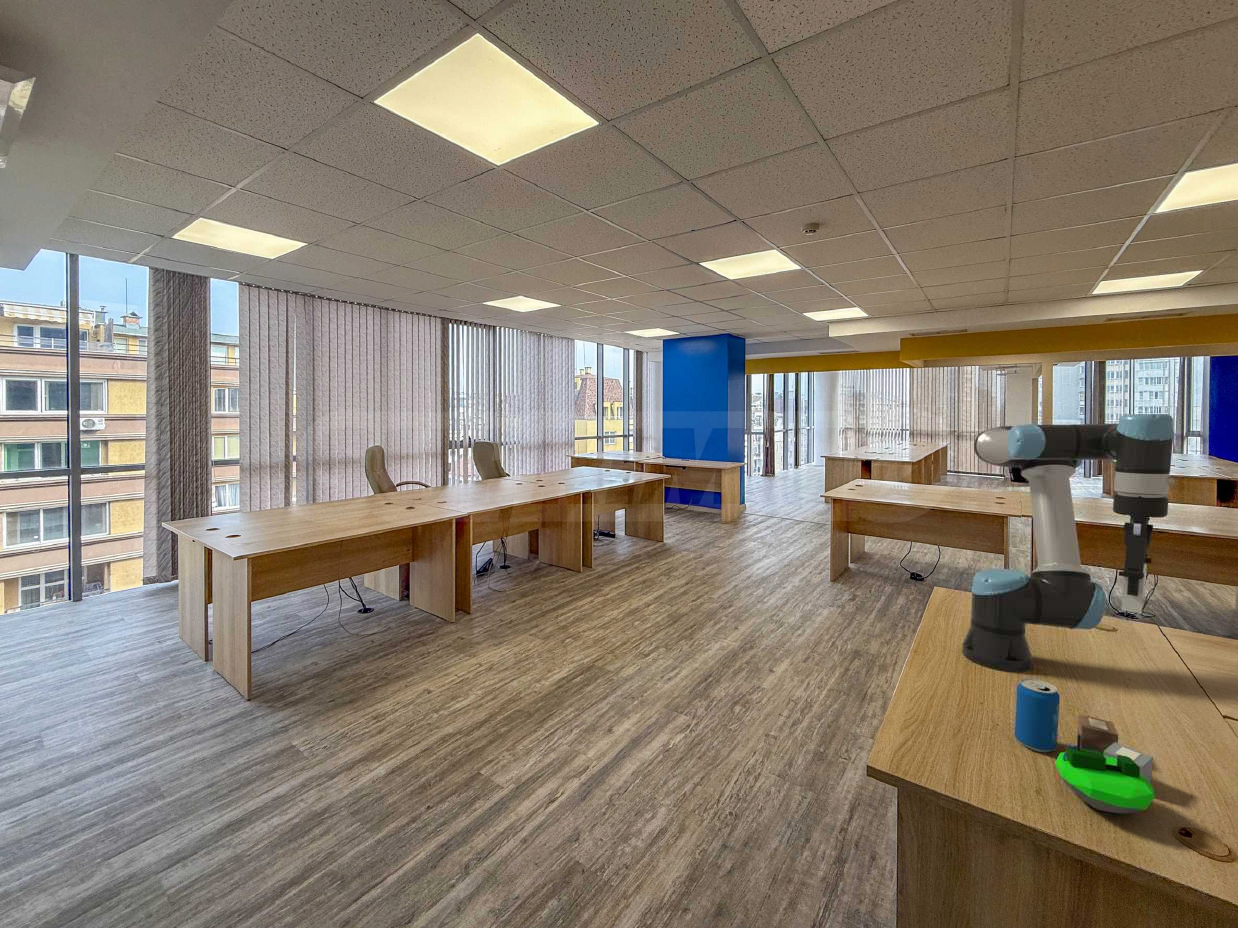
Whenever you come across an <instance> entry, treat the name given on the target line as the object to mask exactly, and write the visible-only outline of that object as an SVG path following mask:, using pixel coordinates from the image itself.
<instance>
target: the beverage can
mask: <svg viewBox="0 0 1238 928" xmlns="http://www.w3.org/2000/svg"><path fill="white" fill-rule="evenodd" d="M1015 699H1016V700H1015V701H1016V702H1015V703H1016V704H1015V721H1014V724H1015V725H1014V737H1015V739H1016V740H1017V741H1018V742H1019V743H1020V744H1021V745H1022V746H1023V747H1026V749H1029V750H1032V751H1035V752H1039V753H1049V752H1052V751H1055V750H1056V749H1058V734H1059V733H1058V732H1059V719H1060V718H1059V716H1060V715H1059V713H1060V700H1061V698H1060V694H1059V693H1058V688H1057V687H1056V686H1055V685H1053V684H1052V683H1050V682H1047V681H1045V680H1042V679H1037V678H1031V677H1030V678H1029V677H1025V678H1021V679H1020V681H1019V683H1018V684H1017V685H1016V698H1015Z"/></svg>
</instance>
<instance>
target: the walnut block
mask: <svg viewBox="0 0 1238 928" xmlns="http://www.w3.org/2000/svg"><path fill="white" fill-rule="evenodd" d="M1077 720H1078V723H1077V737H1076V740H1077V739H1078V735H1081V740H1080V748H1082V749H1088V750H1095V751H1100V752H1101V753H1102V754H1103V755H1104V750H1106V749H1107V748H1108V747H1109V746H1110V745H1112V744H1113V743H1114V742H1116V743H1119V733H1118V731H1117V728H1116V726H1115V724H1114V722H1113V721H1110V720H1109V721H1108V720H1105V719H1102V718H1097V717H1092V716H1087V715H1083V714H1078V719H1077Z"/></svg>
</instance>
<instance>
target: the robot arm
mask: <svg viewBox="0 0 1238 928" xmlns="http://www.w3.org/2000/svg"><path fill="white" fill-rule="evenodd" d="M1174 437H1175V431H1174V418H1173V417H1172V415H1170V414H1167V413H1151V414H1150V413H1144V414H1143V413H1141V414H1137V413H1136V414H1134V413H1133V414H1123V415H1121V416H1120V417H1119V418H1118V423H1099V424H1098V423H1092V424H1090V423H1089V424H1088V423H1086V424H1085V423H1084V424H1082V423H1079V424H1077V423H1076V424H1074V423H1073V424H1035V423H1033V424H1032V423H1026V424H1019V425H1018V424H1016V425H1003V426H997V427H991V428H989V429H985V430H984V431H982V432H981V433H979V434H978V435H977V436H976V437H975V439H974V442H973V450H974V454H976V457H977V458H979V460H981V461H983V462H984V463H986V464H989V465H993V466H995V467H996V466H997V467H1003V468H1020V474H1021V476H1022V477H1023V478H1025V479H1026V480H1027V481H1028V483H1029V484H1028V485H1029V486H1028V487H1029V493H1030V502H1031V510H1032V511H1031V512H1032V513H1031V514H1032V519H1033V520H1032V523H1033V530H1034V540H1035V547H1036V550H1035V551H1036V559H1037V567H1036V568H1035V569H1034V570H1032V571H1031V577H1029V576H1028V573H1026V572H1024V571H1021V570H1018V569H1010V568H992V569H991V568H989V569H984V570H981V571H979V572H977V573H976V574H974V576H973V580H972V585H971V586H972V587H971V589H970V590H971V612H970V614H971V615H970V616H971V617H970V627H969V628H968V631H967V633H966V635H965V637H964V639H963V641H962V645H961V653H962V655H963V656H964V657H965V658H966V659H968V660H970V661H971V662H973V663H976V664H978V665H980V666H982V667H986V668H990V669H994V670H998V671H1004V672H1005V671H1007V672H1026V671H1029V670H1031V669H1032V667H1033V655H1032V651H1031V648H1030V645H1029V642H1028V639H1027V637H1026V627H1027V626H1026V625H1038V626H1045V627H1046V626H1047V627H1056V628H1066V629H1070V630H1077V629H1078V630H1092V629H1095V628H1096V627H1098V625H1100V623H1101V622H1102V619H1103V618H1104V615H1105V609H1106V593H1105V591H1104V590H1103V587H1102V585H1100V584H1099V583H1097V582H1095V581H1092V578H1091V573H1090V572H1088V571H1087V570H1086V569H1084V568H1083V567H1082V564H1081V562H1082V561H1081V555H1080V549H1079V541H1078V532H1077V526H1076V519H1075V511H1074V505H1073V497H1072V489H1071V488H1072V487H1071V481H1070V478H1071V477H1072V476H1073V475H1075V473H1076V472H1077V471H1076V470H1077V468H1079V467H1081V465H1082V464H1083V461H1085V460H1086V461H1087V460H1088V461H1090V460H1091V461H1115V467H1114V468H1115V470H1114V480H1113V491H1115V494H1114V495H1113V502H1112V511H1113V512H1114V513H1115V514H1117V515H1122V516H1128V517H1130V518H1129V519H1130V520H1129V522H1126V521H1125V522H1124V525H1123V533H1124V540H1123V541H1124V545H1125V546H1126V549H1125V551H1126V552H1125V558H1124V559H1125V560H1124V569H1123V571H1121V570H1118V576H1119V577H1122V579H1123V582H1122V593H1121V594H1122V597H1121V608H1120V609H1121V611H1124V612H1130V613H1136V614H1141V615H1142V613H1143V598H1144V597H1145V596H1146V595H1145V594H1146V583H1147V581H1146V580H1147V569H1148V568H1147V565H1148V564H1150V565H1151V564H1152V558H1151V557H1148V556H1149V554H1148V548H1150V545H1151V539H1152V538H1151V537H1152V536H1153V533H1154V524H1149V521H1150V518H1155V519H1156V518H1165V517H1167V516H1168V511H1169V499H1168V497H1166V495H1168V494H1169V492H1170V491H1169V490H1170V484H1175V479H1174V478H1169V477H1170V473H1171V465H1172V456H1173V455H1172V454H1173V445H1174V444H1173V443H1174Z"/></svg>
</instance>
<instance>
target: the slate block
mask: <svg viewBox="0 0 1238 928" xmlns="http://www.w3.org/2000/svg"><path fill="white" fill-rule="evenodd" d="M1117 755H1122V756H1127V757H1129V758H1131V759H1132V760H1133V761H1134V762H1135V763H1136V764H1137V765H1138V766H1139V767H1140V774H1141V775H1142V776H1143V777H1144V778H1145V779H1146V780H1147V781H1148V782H1149V783H1150V784H1151V785H1152V774H1153V763H1154V762H1153V759H1154V756H1151V755H1149V754H1147V753H1144V752H1142V751H1139V750H1137V749H1134V748H1132V747H1128V746H1126V745H1124V744H1122V743H1121V744H1120V743H1119V742H1118V743H1116V742H1114V743H1113V744H1112V745H1110V746H1109V747H1108V748H1107V749H1106V750H1104V755H1103V756H1107V757H1111V758H1116V759H1117Z"/></svg>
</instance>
